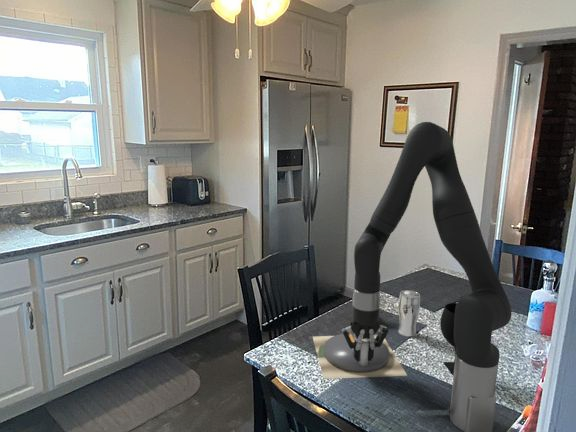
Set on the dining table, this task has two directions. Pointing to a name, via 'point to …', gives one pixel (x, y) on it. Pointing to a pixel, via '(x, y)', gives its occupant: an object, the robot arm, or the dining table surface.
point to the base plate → (336, 373)
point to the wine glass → (449, 330)
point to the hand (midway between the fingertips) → (363, 359)
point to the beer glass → (408, 312)
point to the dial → (344, 359)
